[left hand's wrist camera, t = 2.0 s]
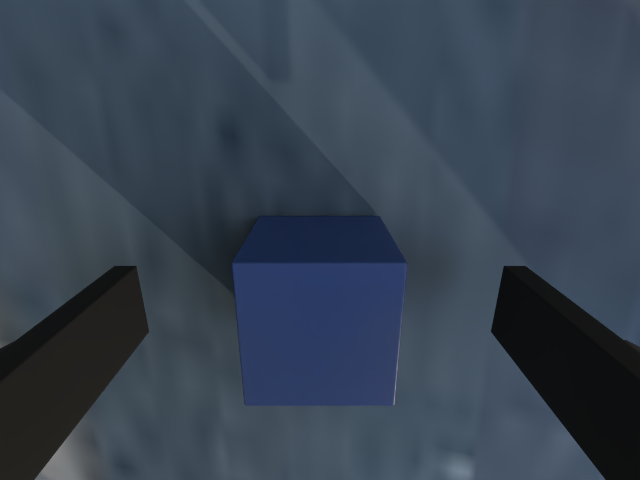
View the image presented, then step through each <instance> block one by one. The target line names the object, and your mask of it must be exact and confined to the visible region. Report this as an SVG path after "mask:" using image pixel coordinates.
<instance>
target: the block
mask: <svg viewBox="0 0 640 480" xmlns="http://www.w3.org/2000/svg"><path fill="white" fill-rule="evenodd" d="M406 271H407V262H406V260H405V259H404V257H403V255H402V254H401V252H400V250H399V249H398V247H397V245H396V243H395V242H394V240H393V238H392V237H391V235H390V233H389V232H388V230H387V228H386V226H385V225H384V223H383V221H382V220H381V218H380V216H260V217H259V218H258V220H257V221H256V223H255V225H254V226H253V228H252V230H251V231H250V233H249V235H248V236H247V238H246V240H245V242H244V243H243V245H242V247H241V248H240V250H239V252H238V253H237V255H236V257H235V258H234V260H233V262H232V274H233V284H234V295H235V306H236V317H237V328H238V339H239V350H240V361H241V372H242V383H243V394H244V404H245V405H246V406H338V405H394V404H395V393H396V382H397V371H398V360H399V349H400V338H401V327H402V315H403V304H404V293H405V282H406Z"/></svg>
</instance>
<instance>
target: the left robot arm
mask: <svg viewBox="0 0 640 480" xmlns="http://www.w3.org/2000/svg"><path fill="white" fill-rule="evenodd" d="M148 332H149V329H148V324H147V319H146V314H145V309H144V304H143V299H142V293H141V288H140V283H139V278H138V273H137V268H136V266H114V267H113V268H111V269H110V270H109V271H107V272H106V273H105V274H103V275H102V276H101V277H99V278H98V279H97V280H95V281H94V282H93V283H92V284H90V285H89V286H88V287H86V288H85V289H84V290H82V291H81V292H80V293H78V294H77V295H76V296H74V297H73V298H72V299H70V300H69V301H68V302H66V303H65V304H64V305H62V306H61V307H60V308H58V309H57V310H56V311H54V312H53V313H52V314H50V315H49V316H48V317H47V318H45V319H44V320H43V321H41V322H40V323H39V324H37V325H36V326H35V327H33V328H32V329H31V330H29V331H28V332H27V333H25V334H24V335H23V336H21V337H20V338H19V339H17V340H16V341H15V342H12V343H10V344H8V345H6V346H4V347H2V348H0V480H35V478H36V477H37V476H38V474H39V473H40V472H41V470H42V469H43V468H44V467H45V465H46V464H47V463H48V461H49V460H50V459H51V458H52V456H53V455H54V454H55V452H56V451H57V450H58V449H59V447H60V446H61V445H62V443H63V442H64V441H65V439H66V438H67V437H68V436H69V434H70V433H71V432H72V430H73V429H74V428H75V427H76V425H77V424H78V423H79V421H80V420H81V419H82V418H83V416H84V415H85V414H86V412H87V411H88V410H89V409H90V407H91V406H92V405H93V403H94V402H95V401H96V399H97V398H98V397H99V396H100V394H101V393H102V392H103V390H104V389H105V388H106V387H107V385H108V384H109V383H110V381H111V380H112V379H113V378H114V376H115V375H116V374H117V372H118V371H119V370H120V368H121V367H122V366H123V365H124V363H125V362H126V361H127V359H128V358H129V357H130V356H131V354H132V353H133V352H134V350H135V349H136V348H137V347H138V345H139V344H140V343H141V341H142V340H143V339H144V337H145V336H146V335H147V334H148ZM491 332H492V334H493V335H494V336H495V337H496V339H497V340H498V341H499V343H500V344H501V345H502V347H503V348H504V349H505V350H506V352H507V353H508V354H509V356H510V357H511V358H512V359H513V361H514V362H515V363H516V365H517V366H518V367H519V368H520V370H521V371H522V372H523V374H524V375H525V376H526V378H527V379H528V380H529V381H530V383H531V384H532V385H533V387H534V388H535V389H536V390H537V392H538V393H539V394H540V396H541V397H542V398H543V399H544V401H545V402H546V403H547V405H548V406H549V407H550V409H551V410H552V411H553V412H554V414H555V415H556V416H557V418H558V419H559V420H560V421H561V423H562V424H563V425H564V427H565V428H566V429H567V430H568V432H569V433H570V434H571V436H572V437H573V438H574V439H575V441H576V442H577V443H578V445H579V446H580V447H581V449H582V450H583V451H584V452H585V454H586V455H587V456H588V458H589V459H590V460H591V461H592V463H593V464H594V465H595V467H596V468H597V469H598V470H599V472H600V473H601V474H602V476H603V477H604V478H605V480H640V347H639V346H637V345H635V344H633V343H631V342H629V341H627V340H623V339H621V338H620V337H619V336H617V335H616V334H615V333H613V332H612V331H611V330H609V329H608V328H607V327H605V326H604V325H603V324H601V323H600V322H599V321H597V320H596V319H595V318H593V317H592V316H591V315H590V314H588V313H587V312H586V311H584V310H583V309H582V308H580V307H579V306H578V305H576V304H575V303H574V302H572V301H571V300H570V299H568V298H567V297H566V296H564V295H563V294H562V293H560V292H559V291H558V290H556V289H555V288H554V287H552V286H551V285H550V284H548V283H547V282H546V281H545V280H543V279H542V278H541V277H539V276H538V275H537V274H535V273H534V272H533V271H531V270H530V269H529V268H527V267H526V266H504V268H503V273H502V278H501V283H500V288H499V293H498V299H497V304H496V309H495V314H494V319H493V324H492V329H491Z"/></svg>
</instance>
